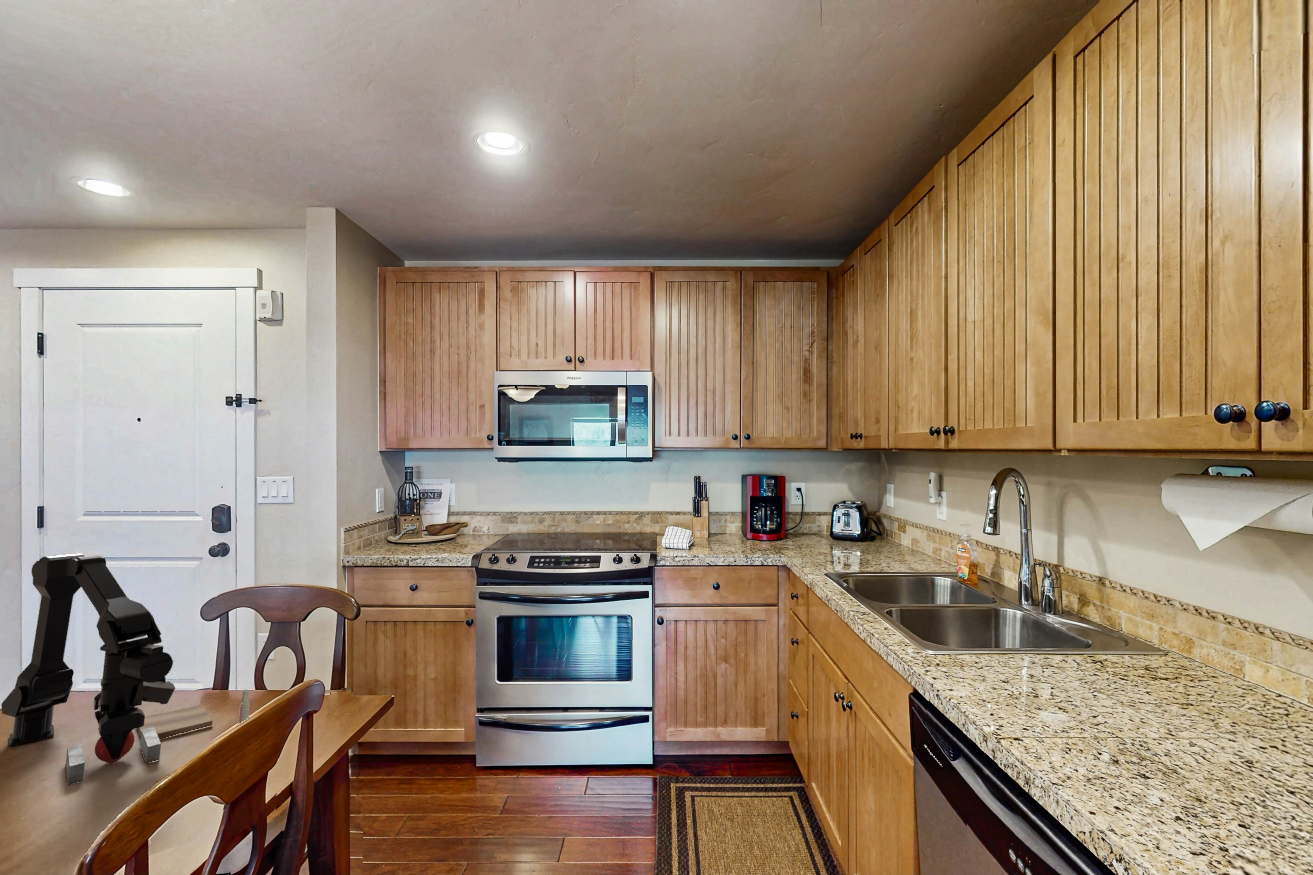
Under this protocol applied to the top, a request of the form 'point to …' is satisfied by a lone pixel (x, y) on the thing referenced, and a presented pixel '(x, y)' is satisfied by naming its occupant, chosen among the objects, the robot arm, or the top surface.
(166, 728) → the tan board
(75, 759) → the twin grey rails
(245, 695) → the screw
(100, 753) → the onion
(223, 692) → the top surface
